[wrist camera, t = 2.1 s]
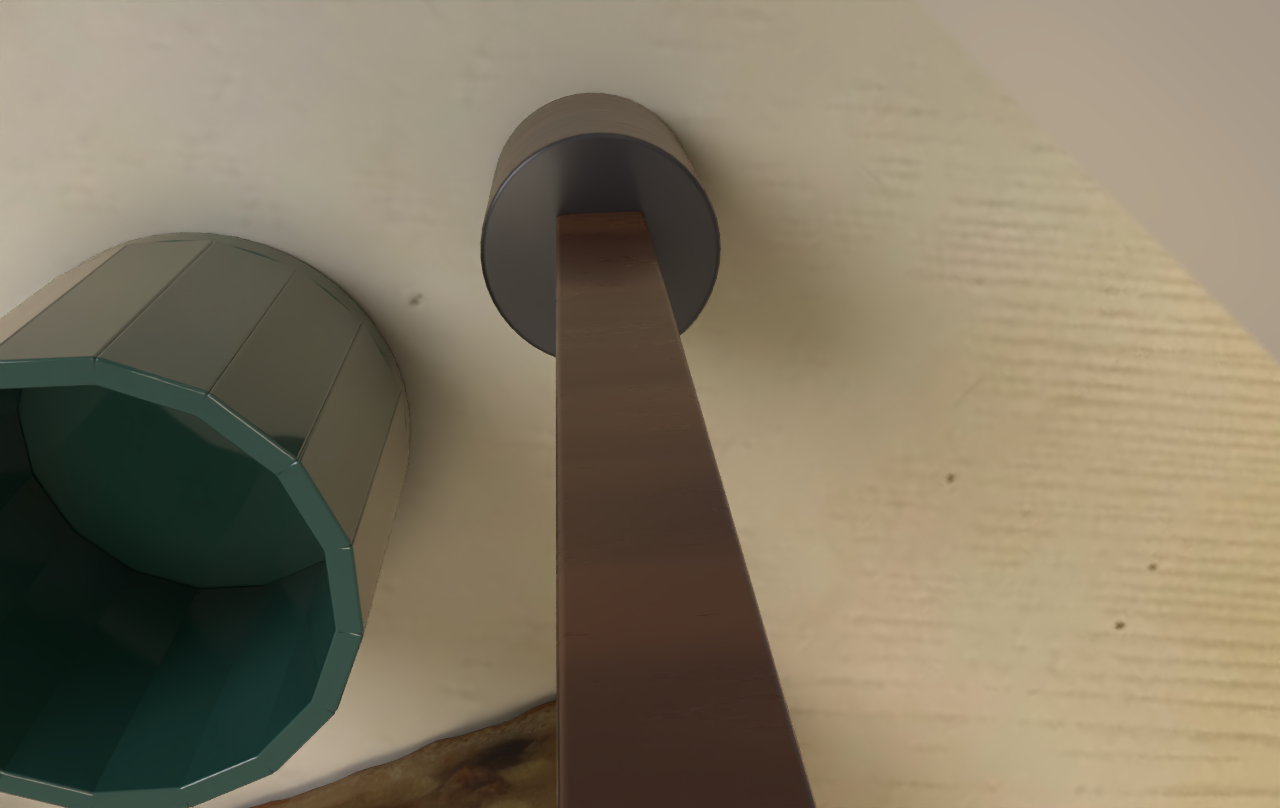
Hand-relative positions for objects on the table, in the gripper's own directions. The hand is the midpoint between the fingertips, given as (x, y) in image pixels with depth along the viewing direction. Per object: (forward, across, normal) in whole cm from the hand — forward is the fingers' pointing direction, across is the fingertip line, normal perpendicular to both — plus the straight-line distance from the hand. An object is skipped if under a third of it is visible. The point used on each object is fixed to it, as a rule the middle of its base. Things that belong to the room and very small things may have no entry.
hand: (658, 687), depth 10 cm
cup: (+18, -9, -5) cm, 20 cm away
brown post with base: (+18, 0, 0) cm, 18 cm away
